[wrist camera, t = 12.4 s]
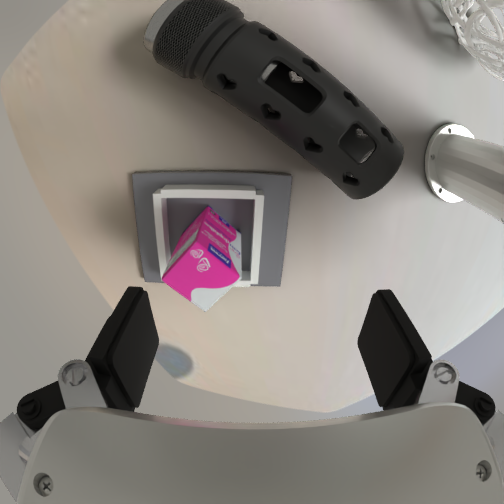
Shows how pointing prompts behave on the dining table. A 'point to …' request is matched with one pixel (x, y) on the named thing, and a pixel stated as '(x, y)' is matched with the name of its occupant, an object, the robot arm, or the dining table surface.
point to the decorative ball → (479, 32)
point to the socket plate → (226, 205)
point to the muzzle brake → (276, 90)
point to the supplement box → (205, 260)
